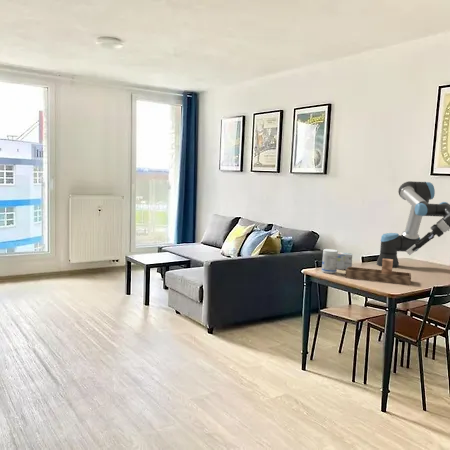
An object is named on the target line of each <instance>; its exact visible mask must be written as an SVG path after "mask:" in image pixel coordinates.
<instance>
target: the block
mask: <svg viewBox="0 0 450 450" xmlns="http://www.w3.org/2000/svg"><path fill="white" fill-rule="evenodd" d="M392 266H393V259H384V258H383V261H382V266H381V270H382V273H383V274H392V271H393V267H392Z"/></svg>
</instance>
